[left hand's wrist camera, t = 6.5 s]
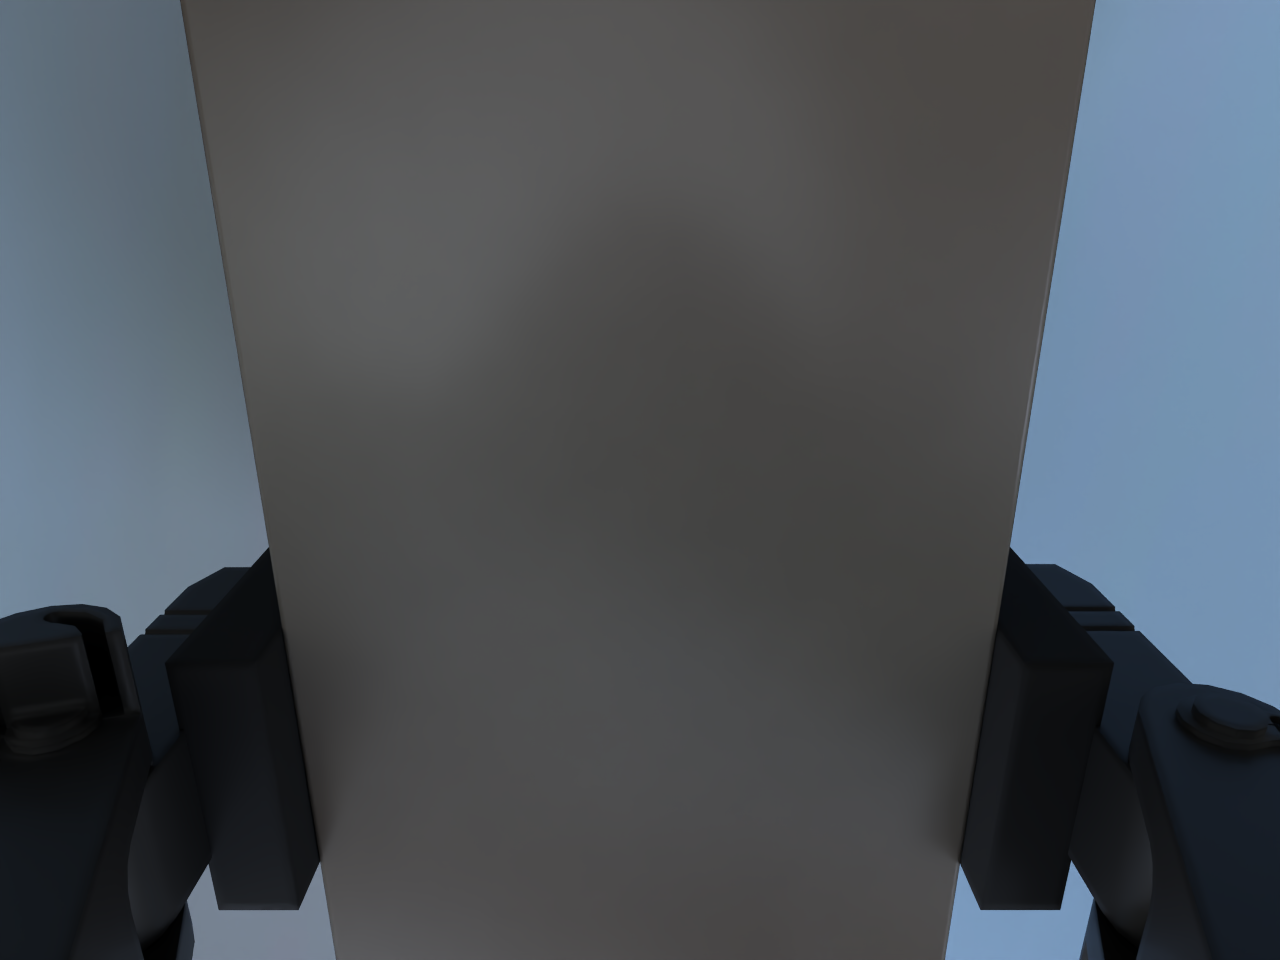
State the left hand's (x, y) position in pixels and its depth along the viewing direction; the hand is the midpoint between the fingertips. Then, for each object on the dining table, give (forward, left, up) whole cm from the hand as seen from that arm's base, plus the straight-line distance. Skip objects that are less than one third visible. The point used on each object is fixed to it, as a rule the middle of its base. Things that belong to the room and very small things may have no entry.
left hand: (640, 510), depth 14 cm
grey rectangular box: (+5, -4, -6) cm, 9 cm away
